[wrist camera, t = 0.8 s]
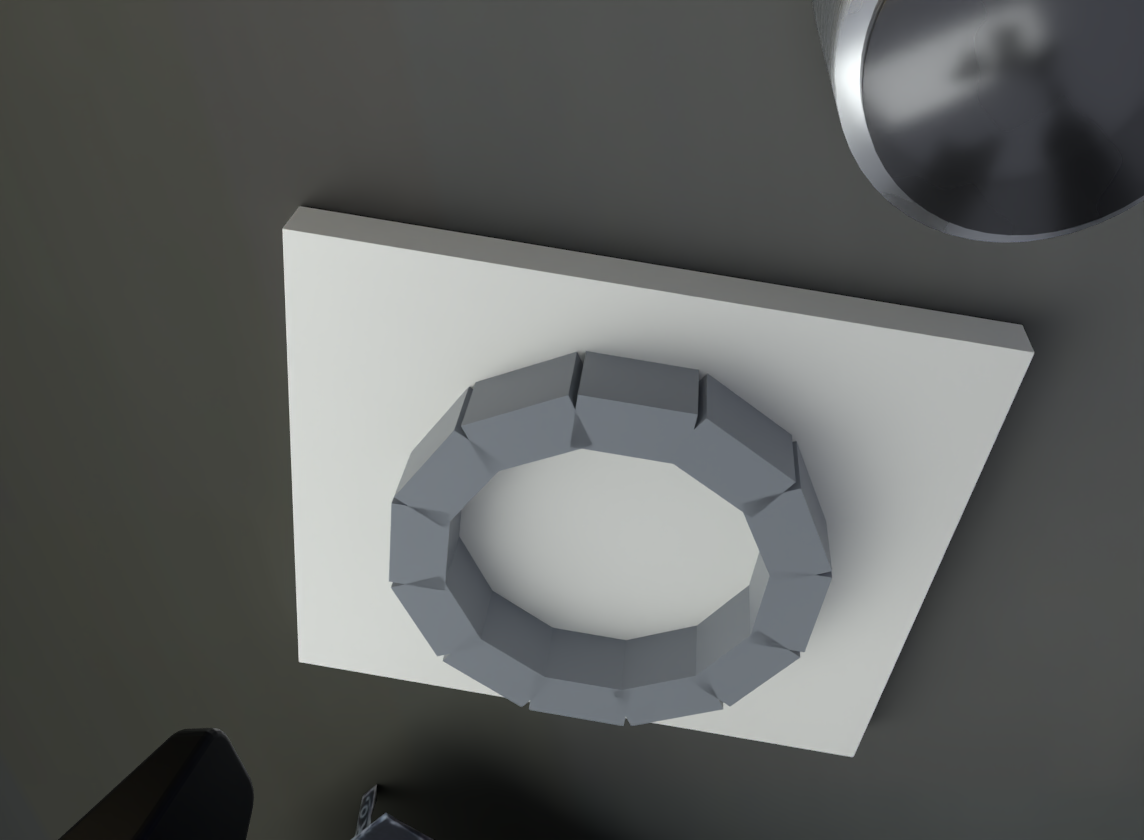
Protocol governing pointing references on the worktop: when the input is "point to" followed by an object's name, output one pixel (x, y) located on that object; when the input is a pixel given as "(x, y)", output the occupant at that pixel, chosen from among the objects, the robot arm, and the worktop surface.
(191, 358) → the worktop surface
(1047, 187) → the metal cylinder
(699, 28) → the worktop surface
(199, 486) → the worktop surface
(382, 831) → the vintage camera
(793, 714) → the barrel plate
